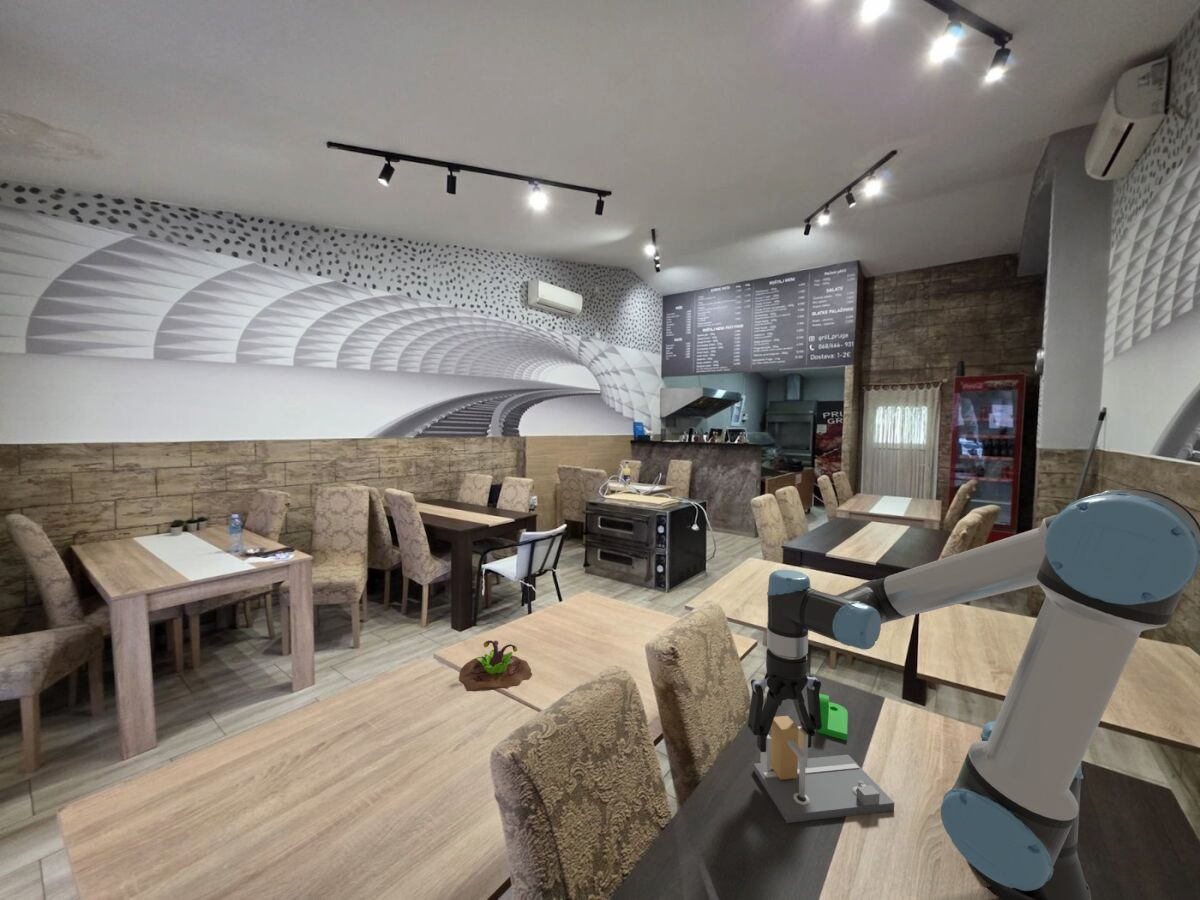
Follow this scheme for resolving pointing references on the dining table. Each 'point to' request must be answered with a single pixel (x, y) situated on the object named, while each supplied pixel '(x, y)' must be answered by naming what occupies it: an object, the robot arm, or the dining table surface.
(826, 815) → the plate
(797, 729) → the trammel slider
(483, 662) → the plant
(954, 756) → the dining table surface
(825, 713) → the mechanical part
